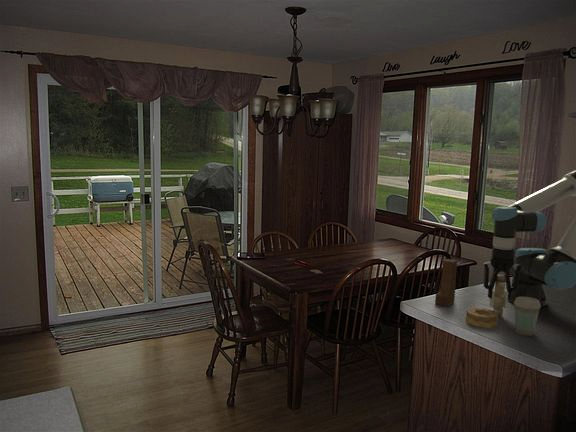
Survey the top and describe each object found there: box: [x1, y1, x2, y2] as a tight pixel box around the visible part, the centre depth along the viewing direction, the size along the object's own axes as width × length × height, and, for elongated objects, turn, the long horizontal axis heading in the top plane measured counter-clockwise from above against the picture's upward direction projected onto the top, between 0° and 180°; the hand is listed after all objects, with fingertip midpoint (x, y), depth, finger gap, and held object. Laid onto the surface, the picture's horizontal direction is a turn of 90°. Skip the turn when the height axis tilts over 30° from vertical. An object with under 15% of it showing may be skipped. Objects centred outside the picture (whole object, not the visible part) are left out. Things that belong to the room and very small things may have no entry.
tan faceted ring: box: [465, 306, 499, 329], centre depth 178 cm, size 10×10×4 cm
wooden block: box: [434, 258, 458, 308], centre depth 198 cm, size 9×4×18 cm, turn 137°
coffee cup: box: [513, 297, 542, 337], centre depth 169 cm, size 8×9×12 cm
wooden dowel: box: [492, 274, 506, 318], centre depth 185 cm, size 4×4×16 cm
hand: (498, 306), depth 185 cm, fingers open, 4 cm apart
